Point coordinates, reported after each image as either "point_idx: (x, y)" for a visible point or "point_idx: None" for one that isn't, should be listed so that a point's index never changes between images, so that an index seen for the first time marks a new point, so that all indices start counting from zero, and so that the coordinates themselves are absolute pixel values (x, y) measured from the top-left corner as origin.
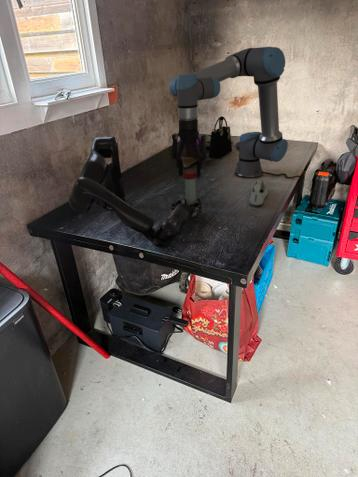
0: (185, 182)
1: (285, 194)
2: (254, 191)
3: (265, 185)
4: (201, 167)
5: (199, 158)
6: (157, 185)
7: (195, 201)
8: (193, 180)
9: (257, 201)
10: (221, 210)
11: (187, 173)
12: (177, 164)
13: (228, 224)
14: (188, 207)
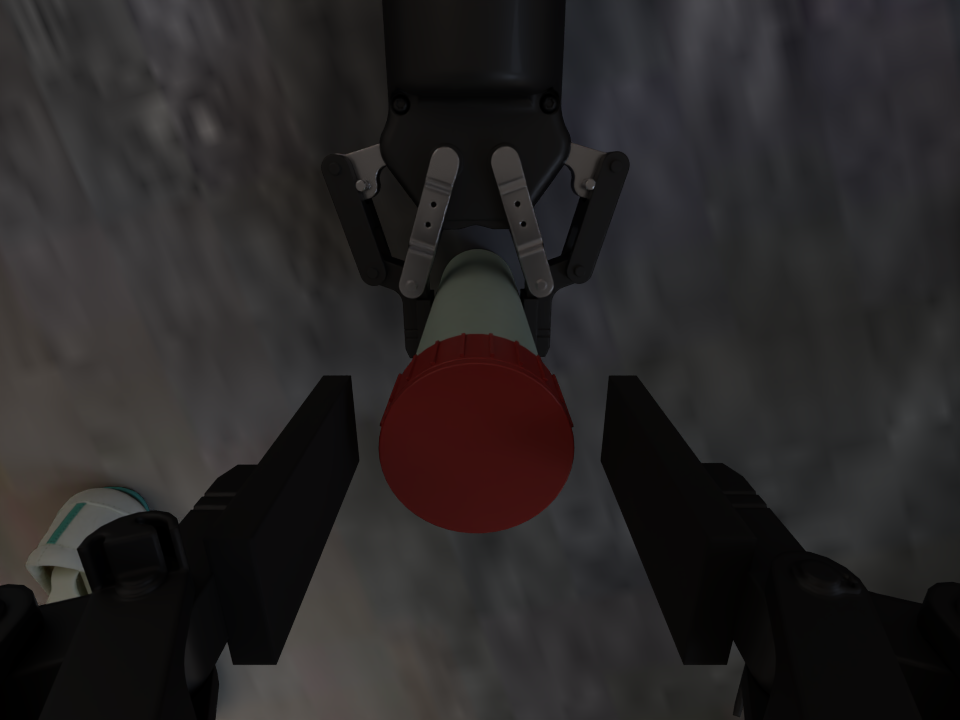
0: (530, 345)
1: None
2: None
3: None
4: (215, 485)
5: (112, 628)
6: None
7: (422, 282)
8: None
9: (68, 504)
10: (299, 393)
11: (496, 383)
12: (745, 504)
13: (169, 196)
14: (405, 36)
